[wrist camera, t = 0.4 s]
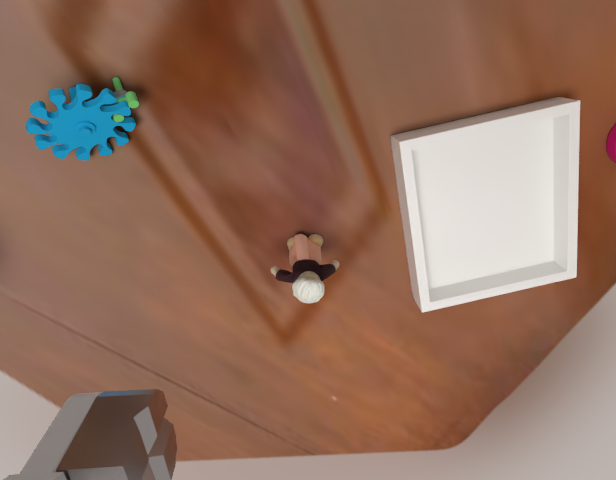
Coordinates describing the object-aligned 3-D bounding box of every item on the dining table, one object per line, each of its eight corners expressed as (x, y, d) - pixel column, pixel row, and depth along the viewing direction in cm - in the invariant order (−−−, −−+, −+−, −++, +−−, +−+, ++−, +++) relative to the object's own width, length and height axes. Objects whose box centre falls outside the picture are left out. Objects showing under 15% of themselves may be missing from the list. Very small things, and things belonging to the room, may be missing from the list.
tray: (390, 135, 54) (399, 142, 50) (558, 96, 54) (580, 100, 50) (412, 296, 63) (422, 312, 59) (558, 263, 62) (576, 277, 59)
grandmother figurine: (326, 223, 57) (342, 268, 46) (334, 250, 59) (351, 300, 47) (266, 239, 58) (267, 288, 46) (275, 266, 59) (278, 320, 47)
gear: (66, 176, 51) (2, 120, 42) (56, 135, 53) (-6, 74, 44) (161, 138, 52) (119, 75, 43) (147, 100, 54) (105, 32, 45)
